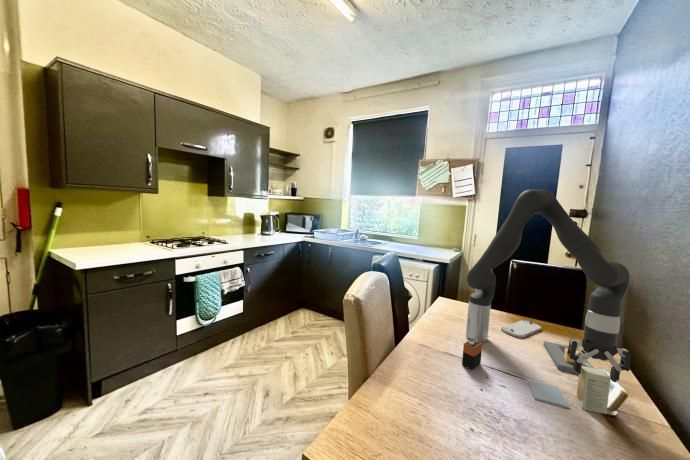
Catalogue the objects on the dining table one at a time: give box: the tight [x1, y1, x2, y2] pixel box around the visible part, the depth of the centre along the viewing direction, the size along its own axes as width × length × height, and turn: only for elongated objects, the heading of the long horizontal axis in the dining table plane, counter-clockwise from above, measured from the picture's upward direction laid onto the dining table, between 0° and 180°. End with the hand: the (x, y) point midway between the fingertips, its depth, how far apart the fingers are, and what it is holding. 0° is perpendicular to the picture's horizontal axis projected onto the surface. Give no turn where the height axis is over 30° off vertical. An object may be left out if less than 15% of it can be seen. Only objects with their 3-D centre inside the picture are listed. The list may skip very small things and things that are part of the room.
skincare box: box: [575, 366, 611, 415], centre depth 84 cm, size 6×4×12 cm
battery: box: [461, 339, 483, 371], centre depth 104 cm, size 4×7×10 cm, turn 128°
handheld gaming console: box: [500, 319, 542, 339], centre depth 136 cm, size 23×3×10 cm
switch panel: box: [542, 340, 594, 375], centre depth 110 cm, size 20×12×2 cm, turn 156°
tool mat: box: [527, 379, 570, 409], centre depth 89 cm, size 9×10×1 cm
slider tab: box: [564, 348, 583, 364], centre depth 105 cm, size 3×5×4 cm, turn 66°
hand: (595, 376), depth 83 cm, fingers open, 8 cm apart
